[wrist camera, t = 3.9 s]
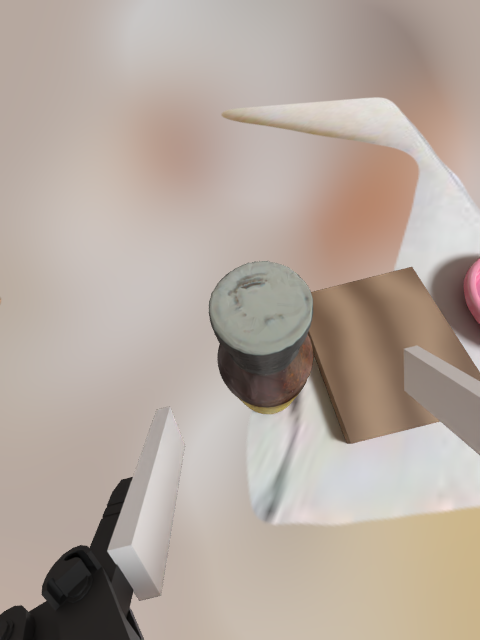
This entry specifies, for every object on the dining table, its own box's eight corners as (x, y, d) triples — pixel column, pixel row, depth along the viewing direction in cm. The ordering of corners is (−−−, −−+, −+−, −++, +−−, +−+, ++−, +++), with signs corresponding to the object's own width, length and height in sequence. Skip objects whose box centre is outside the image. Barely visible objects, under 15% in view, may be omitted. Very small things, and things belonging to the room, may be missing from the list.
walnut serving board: (346, 443, 25) (351, 443, 23) (294, 302, 32) (295, 296, 30) (488, 407, 25) (501, 405, 23) (405, 274, 32) (411, 266, 30)
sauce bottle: (246, 351, 30) (210, 217, 12) (301, 364, 28) (354, 235, 10) (230, 410, 27) (154, 352, 9) (290, 426, 26) (335, 397, 8)
